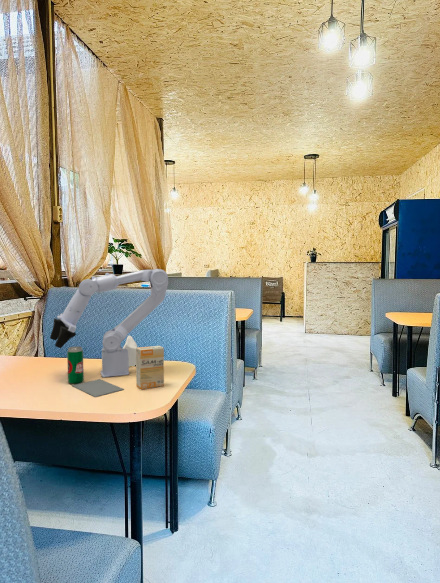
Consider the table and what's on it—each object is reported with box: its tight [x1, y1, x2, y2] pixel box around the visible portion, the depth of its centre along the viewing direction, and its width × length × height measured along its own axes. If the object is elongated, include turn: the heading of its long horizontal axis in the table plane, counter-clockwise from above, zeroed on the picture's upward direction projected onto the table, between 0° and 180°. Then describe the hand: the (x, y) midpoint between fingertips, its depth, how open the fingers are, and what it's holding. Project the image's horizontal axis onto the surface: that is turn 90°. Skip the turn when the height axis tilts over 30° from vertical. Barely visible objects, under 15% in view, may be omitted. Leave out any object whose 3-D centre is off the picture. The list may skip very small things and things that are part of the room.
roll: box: [122, 334, 138, 368], centre depth 158 cm, size 6×12×6 cm
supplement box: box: [135, 345, 165, 390], centre depth 131 cm, size 8×5×13 cm, turn 118°
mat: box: [71, 378, 125, 398], centre depth 130 cm, size 16×10×1 cm, turn 45°
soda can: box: [66, 346, 85, 385], centre depth 136 cm, size 5×5×12 cm
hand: (55, 343), depth 141 cm, fingers open, 7 cm apart
